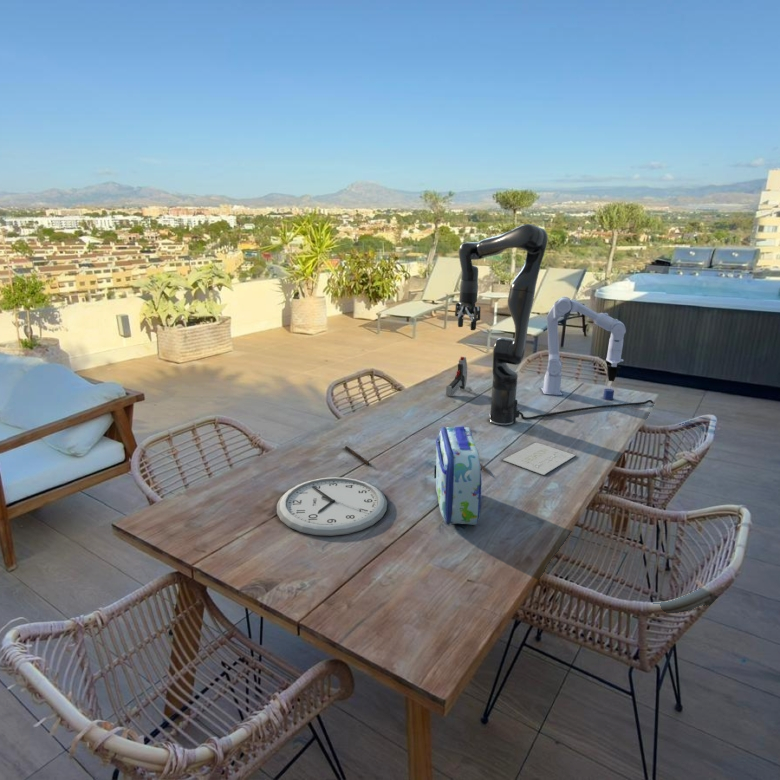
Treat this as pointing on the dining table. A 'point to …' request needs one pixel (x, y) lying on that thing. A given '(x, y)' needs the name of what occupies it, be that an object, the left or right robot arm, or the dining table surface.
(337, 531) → the wall clock
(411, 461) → the dining table surface
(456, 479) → the lunch box
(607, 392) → the can
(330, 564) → the dining table surface
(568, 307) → the right robot arm
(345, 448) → the thin brown stick
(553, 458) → the invitation card
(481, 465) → the fork
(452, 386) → the toy gun
